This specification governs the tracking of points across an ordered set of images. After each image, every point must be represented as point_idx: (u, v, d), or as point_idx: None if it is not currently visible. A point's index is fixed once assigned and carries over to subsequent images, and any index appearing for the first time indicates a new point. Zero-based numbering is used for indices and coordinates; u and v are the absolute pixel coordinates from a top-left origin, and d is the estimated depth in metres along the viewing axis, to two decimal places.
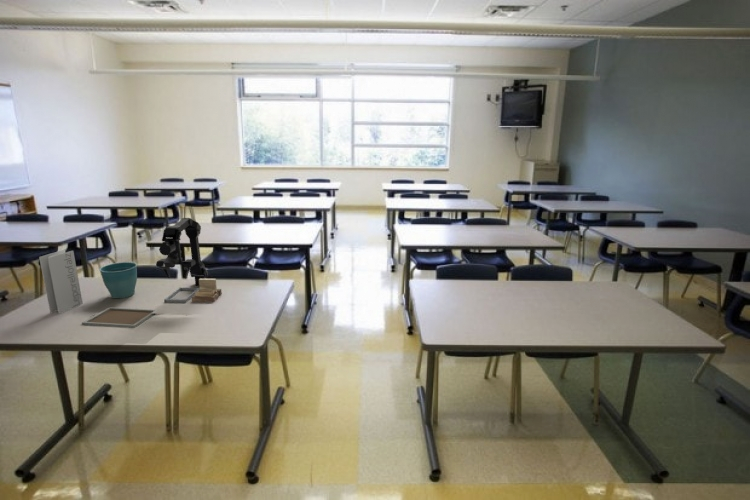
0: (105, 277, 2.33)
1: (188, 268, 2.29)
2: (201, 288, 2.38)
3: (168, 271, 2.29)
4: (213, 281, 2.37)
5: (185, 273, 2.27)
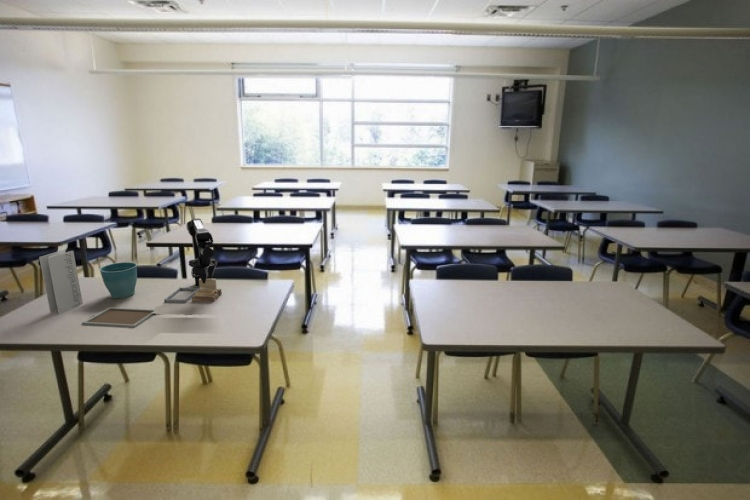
0: (105, 277, 2.33)
1: (204, 275, 2.31)
2: (201, 288, 2.38)
3: (210, 271, 2.41)
4: (213, 281, 2.37)
5: (201, 278, 2.32)
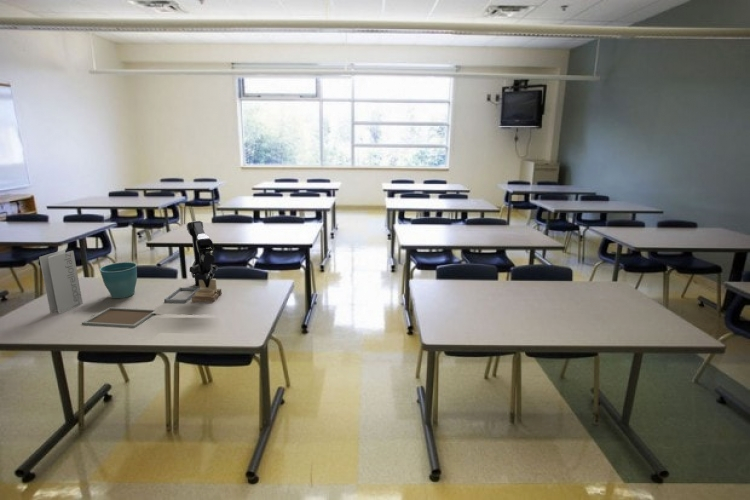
0: (105, 277, 2.33)
1: (207, 279, 2.35)
2: (201, 288, 2.38)
3: None
4: (213, 281, 2.37)
5: None
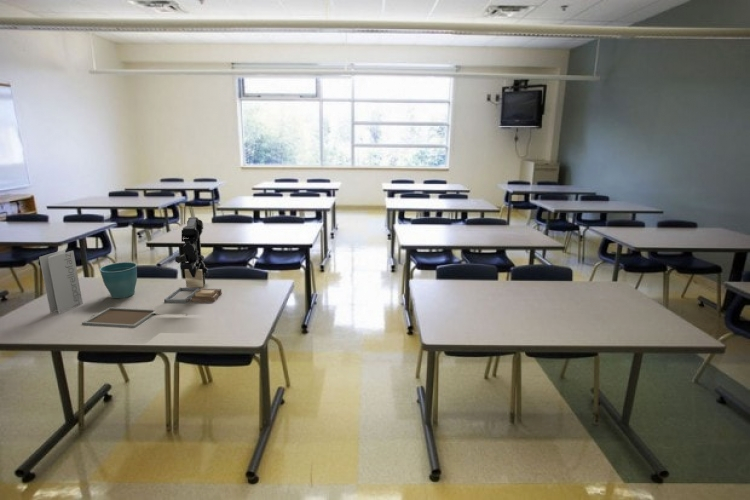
0: (105, 277, 2.33)
1: (193, 269, 2.33)
2: (187, 279, 2.37)
3: None
4: (199, 272, 2.36)
5: None
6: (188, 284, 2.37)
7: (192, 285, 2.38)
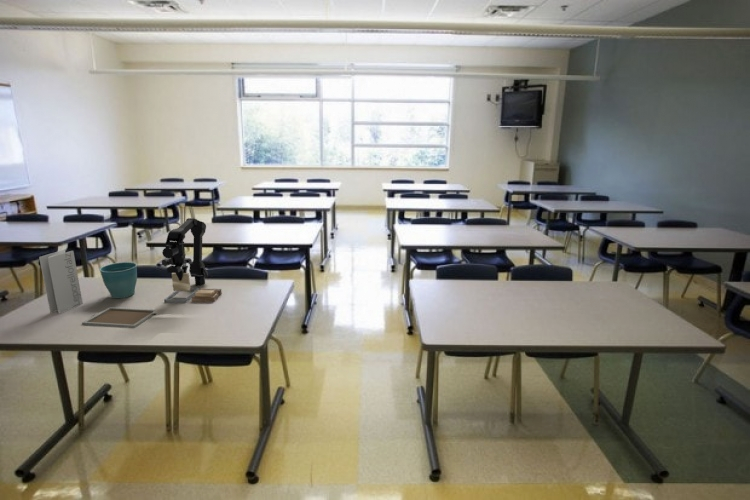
0: (105, 277, 2.33)
1: (180, 272, 2.34)
2: (174, 282, 2.37)
3: None
4: (186, 275, 2.36)
5: None
6: (175, 287, 2.38)
7: (179, 288, 2.38)
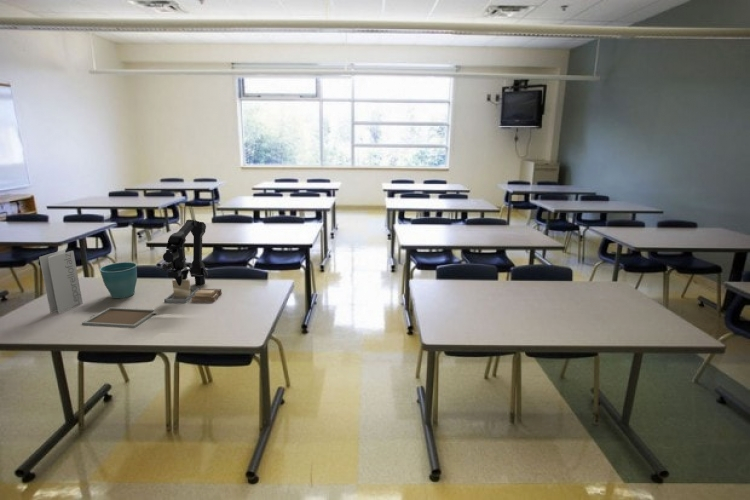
0: (105, 277, 2.33)
1: (179, 277, 2.33)
2: (175, 289, 2.38)
3: (183, 276, 2.39)
4: (186, 282, 2.37)
5: None
6: (176, 294, 2.39)
7: (180, 295, 2.39)
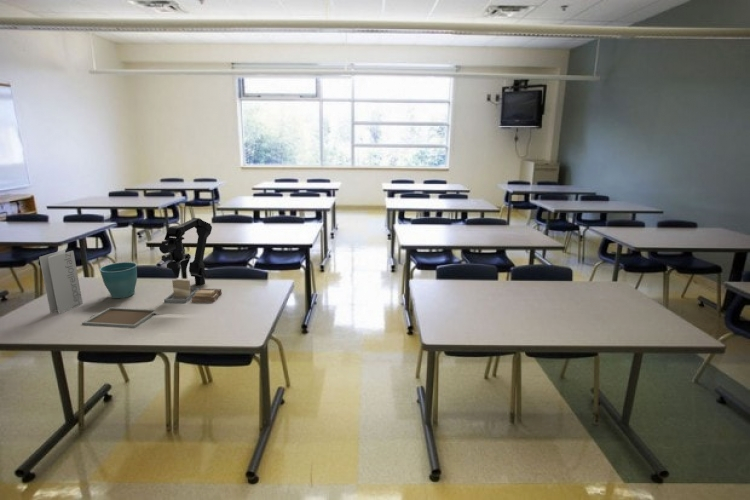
0: (105, 277, 2.33)
1: (177, 269, 2.35)
2: (175, 289, 2.38)
3: (183, 266, 2.46)
4: (186, 282, 2.37)
5: (174, 272, 2.37)
6: (176, 294, 2.39)
7: (180, 295, 2.39)
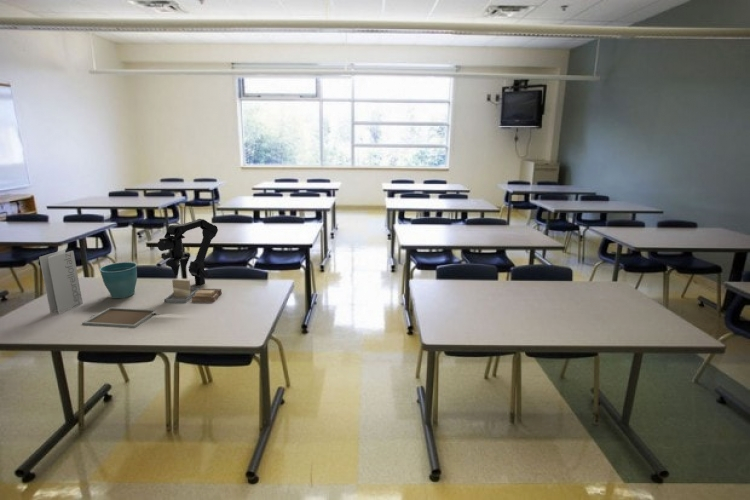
0: (105, 277, 2.33)
1: (176, 267, 2.38)
2: (175, 289, 2.38)
3: (183, 264, 2.49)
4: (186, 282, 2.37)
5: (173, 270, 2.40)
6: (176, 294, 2.39)
7: (180, 295, 2.39)
